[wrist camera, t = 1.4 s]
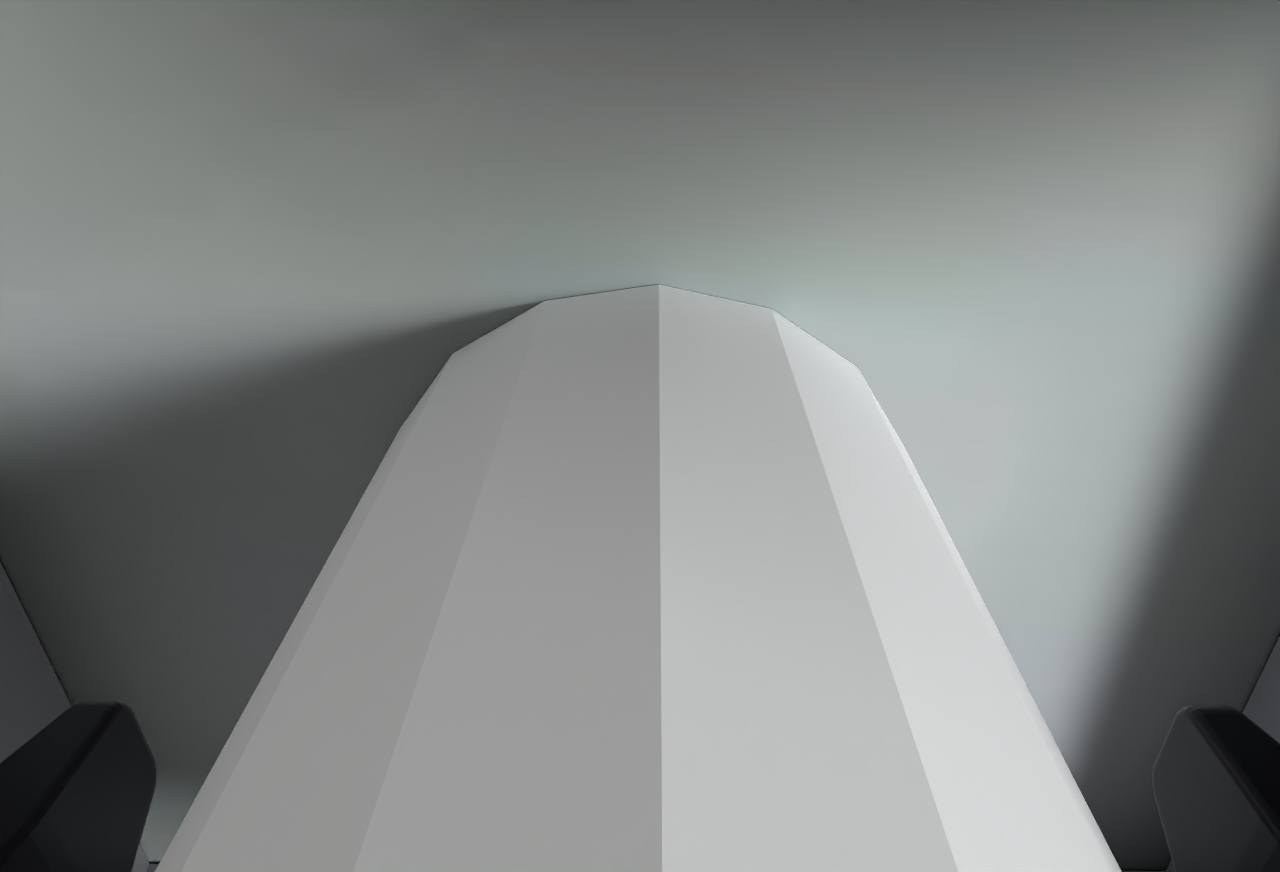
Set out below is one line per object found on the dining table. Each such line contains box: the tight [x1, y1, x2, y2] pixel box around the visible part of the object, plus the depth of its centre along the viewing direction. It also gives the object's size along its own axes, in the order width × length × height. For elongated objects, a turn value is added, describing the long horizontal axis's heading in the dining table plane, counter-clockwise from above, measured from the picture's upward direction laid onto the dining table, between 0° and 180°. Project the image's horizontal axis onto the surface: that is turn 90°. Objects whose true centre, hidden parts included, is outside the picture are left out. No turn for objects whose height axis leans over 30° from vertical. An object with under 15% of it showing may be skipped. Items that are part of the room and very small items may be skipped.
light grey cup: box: [155, 284, 1122, 872], centre depth 8 cm, size 7×7×7 cm
